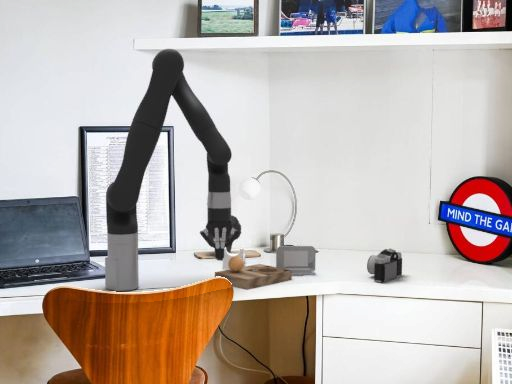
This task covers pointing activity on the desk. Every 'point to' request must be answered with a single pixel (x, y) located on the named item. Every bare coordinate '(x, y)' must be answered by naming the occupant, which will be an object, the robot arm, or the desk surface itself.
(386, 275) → the camera
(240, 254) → the bracket
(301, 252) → the toaster
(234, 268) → the ball
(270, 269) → the brown wooden flat block
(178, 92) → the robot arm
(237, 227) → the dark grey rock
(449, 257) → the desk surface
